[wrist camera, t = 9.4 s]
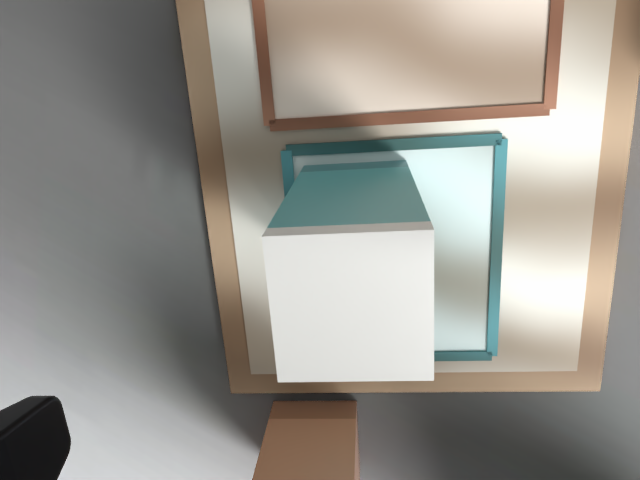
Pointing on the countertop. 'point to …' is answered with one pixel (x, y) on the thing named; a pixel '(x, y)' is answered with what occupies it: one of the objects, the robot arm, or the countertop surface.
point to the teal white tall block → (351, 276)
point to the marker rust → (310, 442)
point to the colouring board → (428, 165)
